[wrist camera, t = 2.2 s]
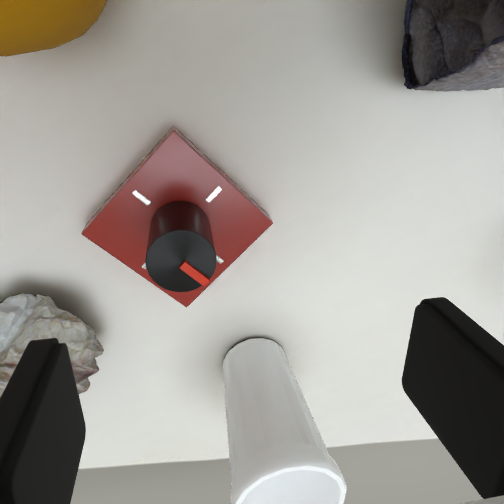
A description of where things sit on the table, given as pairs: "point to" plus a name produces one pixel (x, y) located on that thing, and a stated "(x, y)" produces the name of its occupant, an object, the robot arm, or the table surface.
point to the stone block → (454, 45)
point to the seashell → (45, 336)
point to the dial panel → (176, 189)
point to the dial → (180, 247)
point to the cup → (274, 432)
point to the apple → (44, 23)
